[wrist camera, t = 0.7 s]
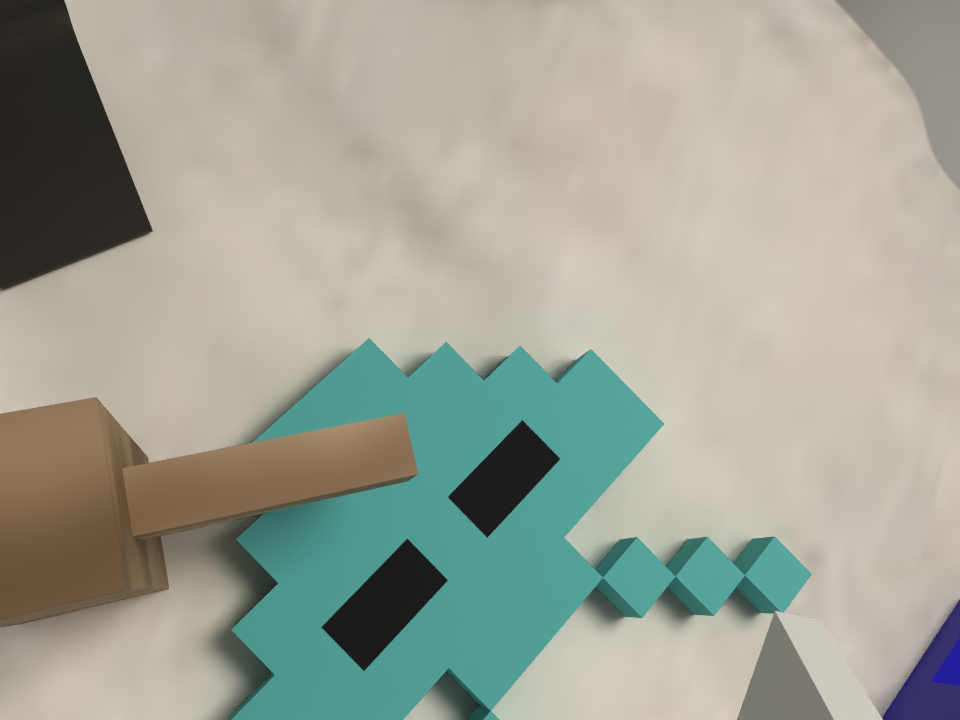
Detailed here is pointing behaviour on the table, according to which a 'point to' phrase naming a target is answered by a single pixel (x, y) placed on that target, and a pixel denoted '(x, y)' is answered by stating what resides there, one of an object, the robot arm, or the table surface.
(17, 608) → the mallet
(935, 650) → the mounting bracket
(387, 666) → the alien figure
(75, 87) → the phone stand
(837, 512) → the table surface
